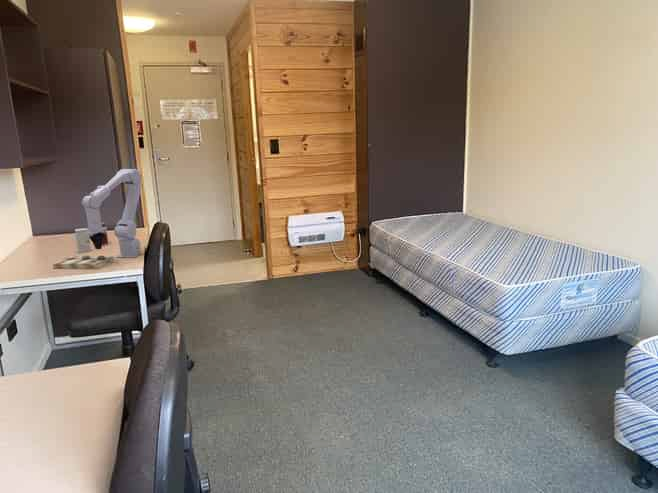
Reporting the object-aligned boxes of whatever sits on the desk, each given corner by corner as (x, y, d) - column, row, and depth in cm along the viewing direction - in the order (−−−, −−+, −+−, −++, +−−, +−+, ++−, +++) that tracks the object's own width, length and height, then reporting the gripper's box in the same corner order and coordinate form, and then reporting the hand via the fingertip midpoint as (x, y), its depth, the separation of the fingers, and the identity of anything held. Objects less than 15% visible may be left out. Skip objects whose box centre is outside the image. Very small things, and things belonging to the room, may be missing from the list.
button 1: (76, 260, 236) (76, 257, 236) (72, 262, 233) (71, 259, 233) (70, 260, 237) (70, 257, 236) (66, 262, 233) (65, 259, 233)
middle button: (91, 259, 235) (90, 255, 234) (87, 260, 232) (86, 257, 231) (85, 258, 235) (84, 255, 235) (81, 260, 232) (80, 257, 232)
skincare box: (79, 253, 255) (75, 230, 252) (77, 251, 259) (74, 229, 256) (91, 251, 258) (88, 229, 255) (90, 249, 262) (87, 227, 259)
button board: (113, 261, 236) (113, 255, 236) (97, 269, 224) (96, 263, 223) (71, 260, 240) (70, 255, 239) (53, 268, 227) (52, 262, 227)
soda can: (91, 245, 271) (88, 224, 268) (101, 242, 277) (98, 222, 274) (101, 246, 268) (98, 225, 265) (111, 243, 275) (108, 222, 272)
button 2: (106, 259, 233) (105, 255, 233) (102, 260, 230) (101, 257, 230) (100, 259, 234) (99, 255, 233) (96, 260, 231) (95, 257, 230)
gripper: (96, 218, 235) (100, 245, 238) (76, 224, 221) (81, 252, 225) (109, 218, 234) (113, 245, 237) (90, 224, 220) (94, 252, 223)
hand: (98, 249), depth 231 cm, fingers closed
